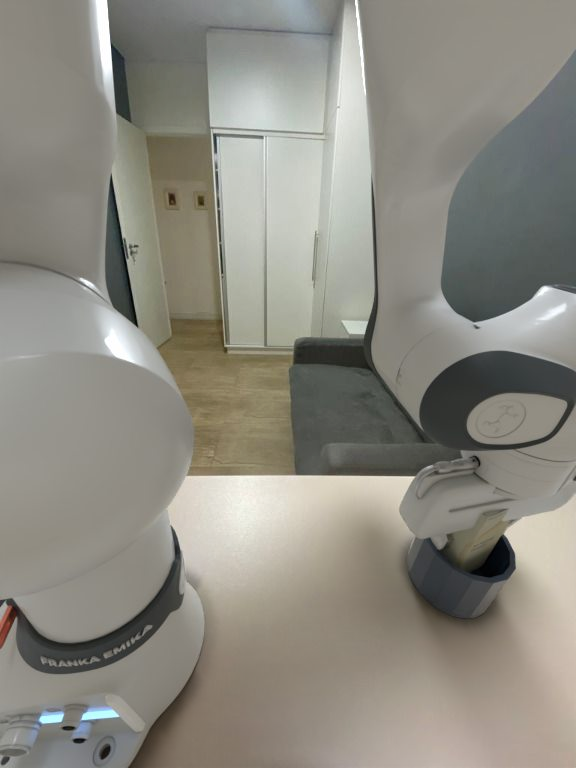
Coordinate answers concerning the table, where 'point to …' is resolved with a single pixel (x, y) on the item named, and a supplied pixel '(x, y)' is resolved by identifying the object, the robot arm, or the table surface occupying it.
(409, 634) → the table surface
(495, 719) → the table surface
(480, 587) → the blue round bowl
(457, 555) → the cosmetic box
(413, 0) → the robot arm
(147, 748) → the table surface
